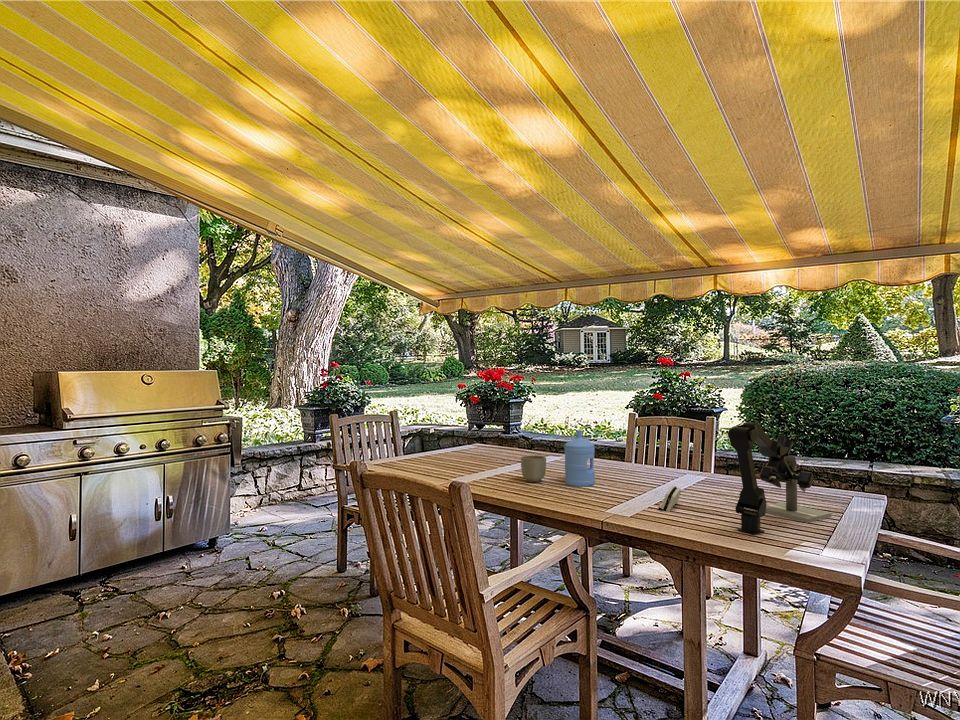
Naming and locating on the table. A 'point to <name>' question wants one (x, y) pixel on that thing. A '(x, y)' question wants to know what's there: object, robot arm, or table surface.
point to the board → (797, 512)
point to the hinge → (670, 498)
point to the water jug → (579, 461)
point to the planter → (533, 467)
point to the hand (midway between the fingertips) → (792, 488)
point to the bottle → (791, 495)
